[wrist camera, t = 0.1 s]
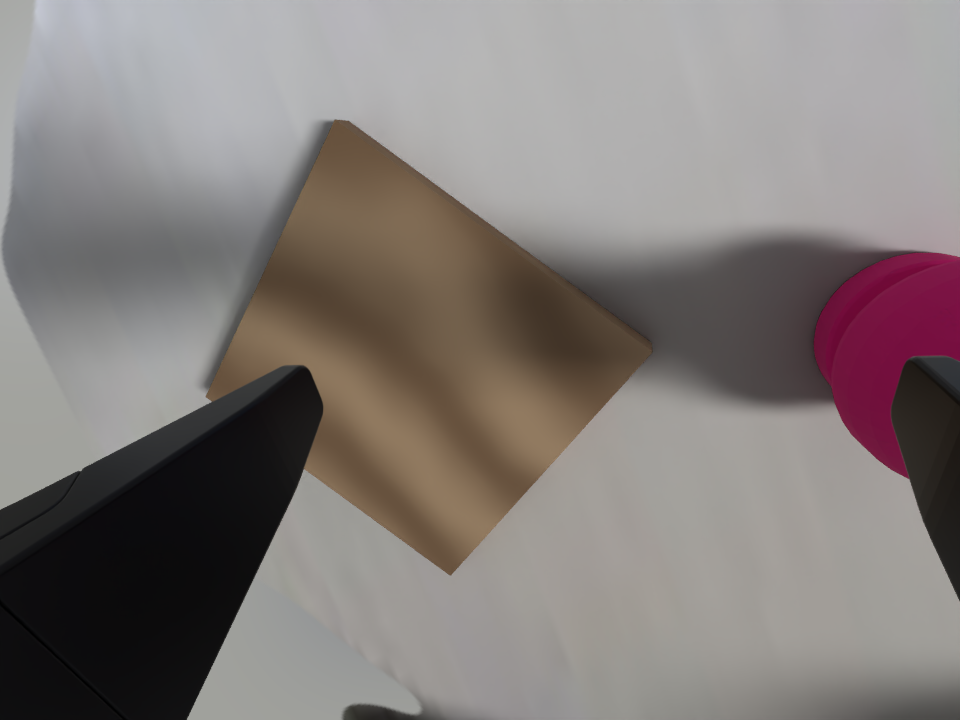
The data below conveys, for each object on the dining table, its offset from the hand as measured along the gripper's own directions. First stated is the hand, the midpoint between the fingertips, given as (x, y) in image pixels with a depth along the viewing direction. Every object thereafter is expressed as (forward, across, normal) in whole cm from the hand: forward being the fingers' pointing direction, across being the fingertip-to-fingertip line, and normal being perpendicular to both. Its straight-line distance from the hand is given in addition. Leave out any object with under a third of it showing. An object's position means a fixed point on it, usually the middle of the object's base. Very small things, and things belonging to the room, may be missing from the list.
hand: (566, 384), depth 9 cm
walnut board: (+14, +10, +9) cm, 19 cm away
